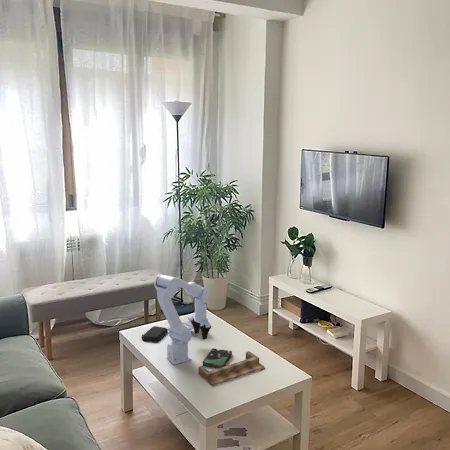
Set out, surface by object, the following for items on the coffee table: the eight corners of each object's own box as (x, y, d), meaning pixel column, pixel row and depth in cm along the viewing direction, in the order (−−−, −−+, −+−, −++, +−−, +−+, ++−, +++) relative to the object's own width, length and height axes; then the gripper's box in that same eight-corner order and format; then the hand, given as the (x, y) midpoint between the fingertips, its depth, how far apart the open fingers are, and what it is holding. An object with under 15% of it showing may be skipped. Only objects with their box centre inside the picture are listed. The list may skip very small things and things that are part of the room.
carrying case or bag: (151, 329, 256) (138, 341, 242) (151, 324, 255) (138, 335, 241) (169, 332, 253) (157, 343, 239) (169, 326, 252) (157, 338, 238)
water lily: (188, 343, 254) (189, 327, 260) (213, 338, 250) (213, 322, 255) (175, 333, 244) (176, 317, 249) (201, 327, 239) (201, 311, 244)
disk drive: (211, 353, 230) (202, 367, 216) (211, 348, 229) (202, 361, 215) (232, 356, 227) (223, 370, 213) (232, 350, 226) (223, 364, 212)
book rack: (212, 386, 199) (212, 378, 198) (198, 374, 209) (198, 366, 208) (264, 368, 214) (264, 361, 213) (249, 358, 224) (249, 351, 223)
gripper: (215, 313, 226) (215, 339, 229) (200, 304, 238) (200, 329, 241) (202, 316, 223) (202, 343, 225) (188, 307, 234) (188, 332, 237)
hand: (200, 336), depth 233 cm, fingers open, 7 cm apart
